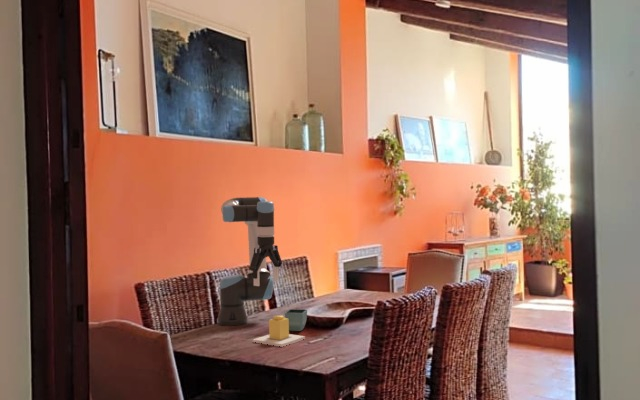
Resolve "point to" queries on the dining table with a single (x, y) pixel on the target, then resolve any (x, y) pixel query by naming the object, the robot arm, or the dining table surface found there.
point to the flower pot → (296, 319)
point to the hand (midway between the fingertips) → (266, 283)
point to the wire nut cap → (279, 327)
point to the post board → (280, 343)
